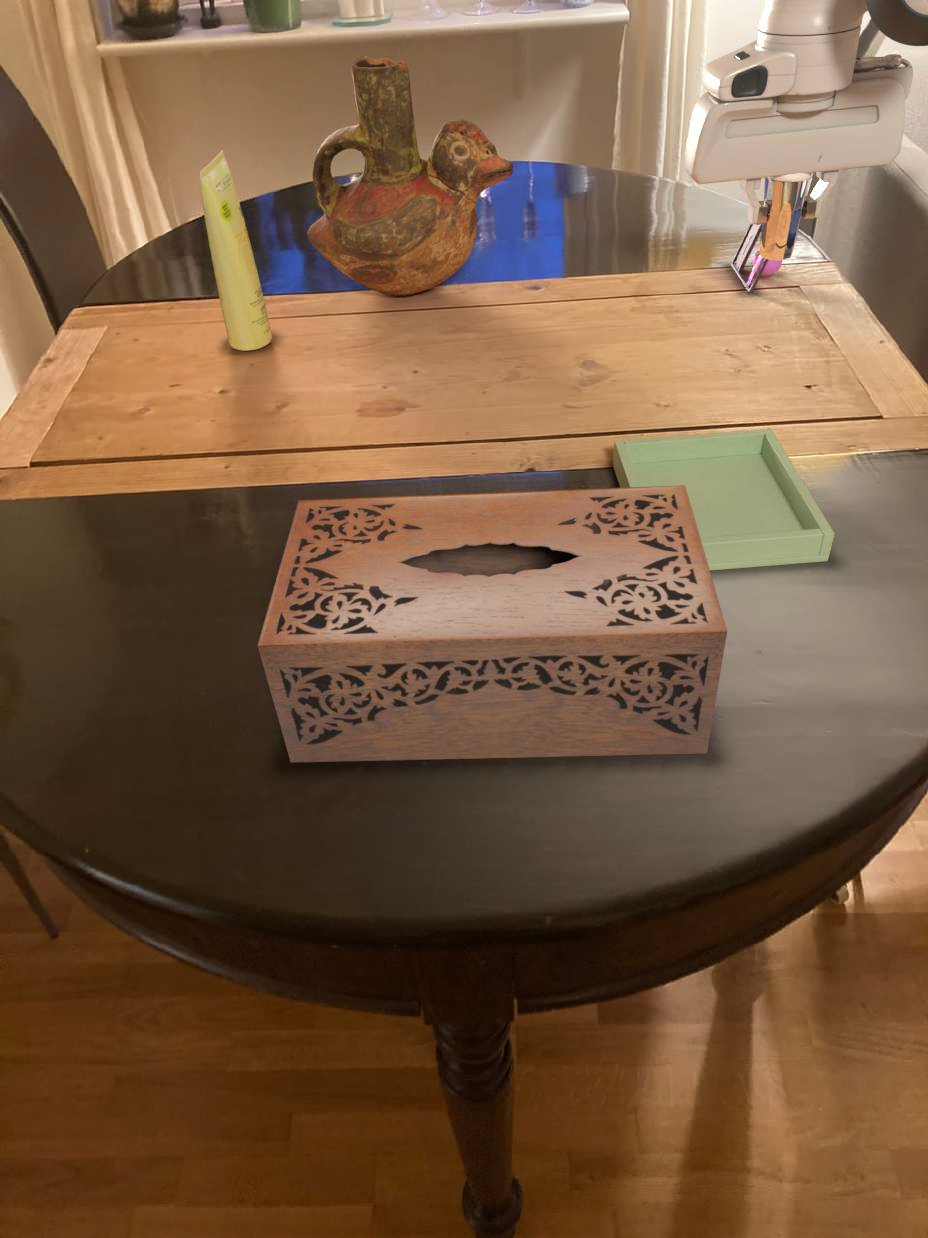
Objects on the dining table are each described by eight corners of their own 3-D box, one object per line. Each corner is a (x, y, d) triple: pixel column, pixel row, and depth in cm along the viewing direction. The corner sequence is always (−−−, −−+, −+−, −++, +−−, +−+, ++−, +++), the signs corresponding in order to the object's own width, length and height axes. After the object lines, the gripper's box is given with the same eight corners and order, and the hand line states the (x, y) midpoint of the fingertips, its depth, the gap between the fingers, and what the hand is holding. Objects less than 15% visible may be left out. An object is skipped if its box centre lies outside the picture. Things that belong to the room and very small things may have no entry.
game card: (750, 208, 110) (771, 233, 103) (789, 220, 111) (812, 246, 104) (725, 262, 114) (743, 291, 107) (762, 274, 115) (783, 302, 108)
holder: (766, 454, 81) (771, 428, 80) (828, 561, 70) (835, 533, 68) (613, 466, 81) (614, 440, 80) (648, 575, 70) (650, 548, 68)
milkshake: (792, 267, 93) (811, 160, 87) (745, 257, 96) (759, 152, 90) (813, 254, 96) (833, 149, 89) (766, 244, 99) (782, 142, 92)
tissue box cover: (290, 762, 58) (257, 645, 51) (322, 612, 69) (298, 500, 62) (706, 753, 56) (727, 631, 50) (672, 601, 67) (685, 485, 61)
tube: (282, 344, 105) (246, 159, 92) (242, 358, 103) (198, 170, 90) (261, 329, 109) (223, 149, 96) (221, 341, 107) (177, 159, 94)
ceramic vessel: (507, 316, 107) (499, 70, 91) (295, 313, 111) (250, 78, 95) (525, 261, 120) (521, 37, 103) (334, 261, 124) (301, 46, 108)
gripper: (903, 45, 87) (873, 199, 96) (686, 68, 87) (676, 219, 96) (932, 57, 82) (897, 218, 91) (702, 81, 82) (690, 240, 91)
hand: (782, 219), depth 94 cm, fingers closed on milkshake, 4 cm apart
